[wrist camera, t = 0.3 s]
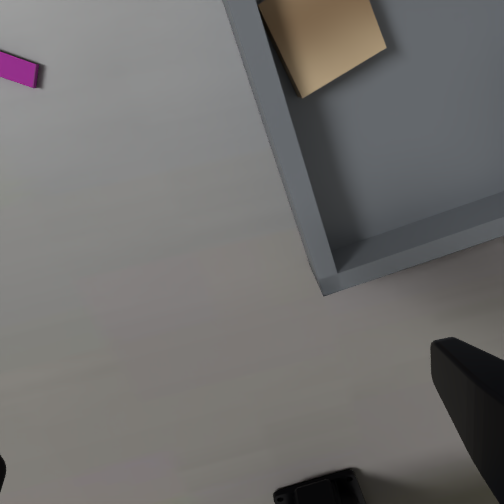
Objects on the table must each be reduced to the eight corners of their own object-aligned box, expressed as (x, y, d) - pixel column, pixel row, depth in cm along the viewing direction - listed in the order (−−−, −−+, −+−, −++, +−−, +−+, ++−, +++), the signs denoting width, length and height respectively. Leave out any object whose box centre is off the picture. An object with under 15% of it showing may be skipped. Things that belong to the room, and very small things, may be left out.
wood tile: (376, 49, 18) (386, 47, 17) (297, 97, 18) (302, 98, 17) (340, -46, 16) (348, -55, 15) (255, 9, 17) (257, 5, 16)
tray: (554, 185, 22) (604, 201, 19) (311, 268, 23) (323, 296, 20) (545, -166, 15) (617, -221, 13) (213, -27, 17) (211, -48, 14)
